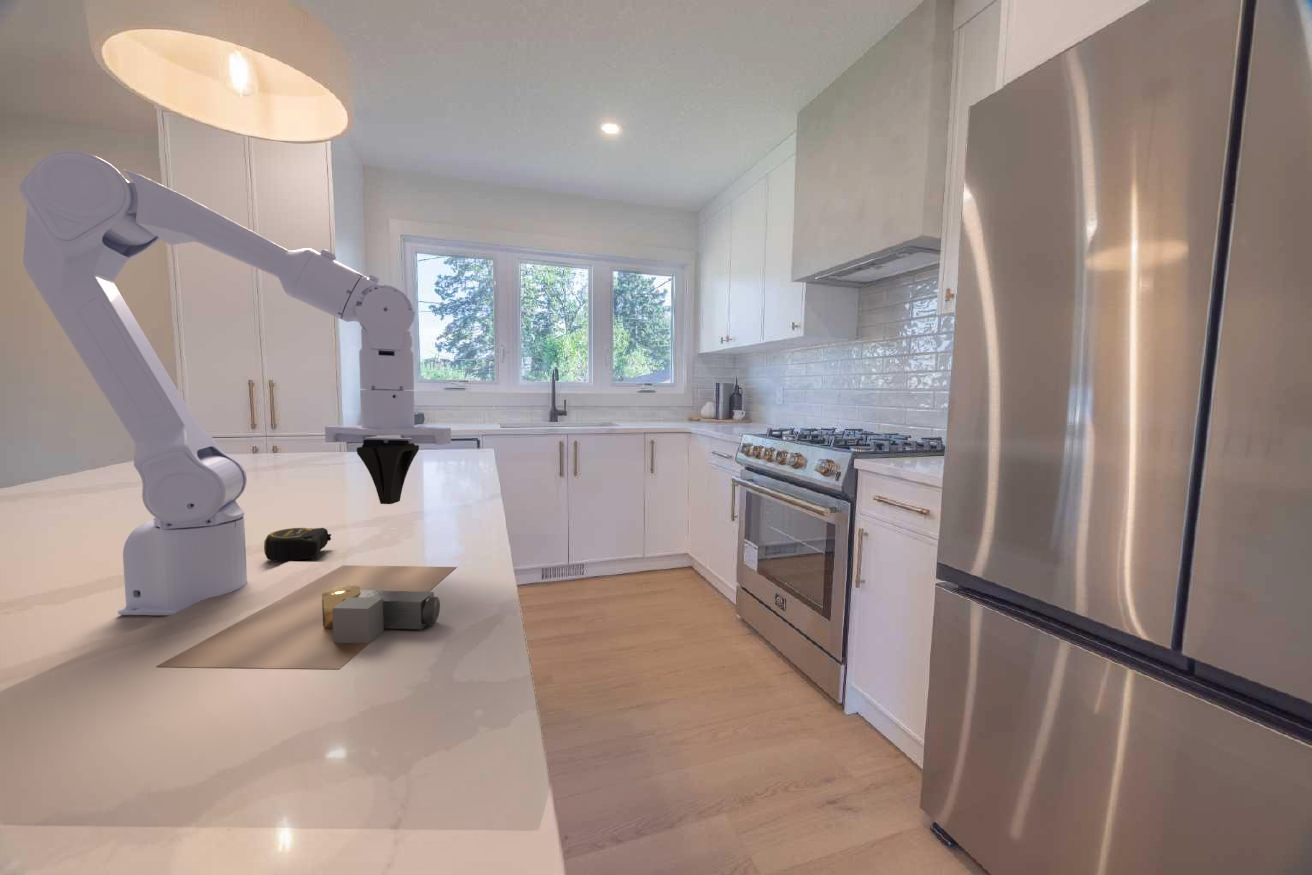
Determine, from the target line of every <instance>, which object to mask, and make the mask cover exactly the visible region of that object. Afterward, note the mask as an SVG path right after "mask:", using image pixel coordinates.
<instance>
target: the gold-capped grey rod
mask: <svg viewBox="0 0 1312 875" xmlns="http://www.w3.org/2000/svg"><path fill="white" fill-rule="evenodd" d="M349 597H365V598H383V624H384V628H386V629H392V630H393V629H395V630H397V629H399V630H423V629H424V628H425V627H426V626H427V625H434V624H435V623H436V622H437V621H438V618H439V614H440V612H441V611H440V609H441V602H440V598H439V597H437V596H435V595H434V591H429V592H413V591H381V590H360V587H359V586H354V585H346V586H339V587H334V588H331V589H328V590H326V591H324V592H323V593H322V611H323V626H325V627H327V628H333V612H332V608H333V607H335V606H337V605H338V604H340V603H341V602H343V601H344V600H346V599H347V598H349Z"/></svg>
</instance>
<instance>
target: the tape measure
mask: <svg viewBox="0 0 1312 875" xmlns="http://www.w3.org/2000/svg"><path fill="white" fill-rule="evenodd" d="M331 536H332V533H329V531H328V529H326V528H324V527H319V528H318V527H317V528H311V527H310V528H308V527H292V528H285V529H284V528H283V529H279V530H276V531H272V532H270V533H269V534H267V536H266V537H265V539H264V541H263V542H264V543H263V544H264V545H263V549H264V551H263V552H264V556H265V557H266V559H267V560H270V561H273V562H283V563H284V562H285V563H286V562H292V561H293V562H294V561H299V560H305V559H306V558H307V559H310V558H314V557H316V556H317V555H318V554H319V552H320V551H321V550H323V549H324V548H325V547H326V546H327V545H328V542H329V541H331V540H332V537H331Z"/></svg>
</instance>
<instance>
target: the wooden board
mask: <svg viewBox="0 0 1312 875" xmlns="http://www.w3.org/2000/svg"><path fill="white" fill-rule="evenodd" d="M457 568H458V566H419V565H418V566H416V565H415V566H413V565H412V566H411V565H407V566H406V565H405V566H404V565H403V566H402V565H347V564H346V565H343V564H342V565H341V566H339V567H337V568H335V569H333V570H331V571H329V572H328V573H326V574H324V575H322V576H320V577H319V578H316V579H315V580H313V581H311V582H309V583H308V584H306V585H304V586H302V587H300V588H298V589H296V590H295V591H293V592H291V593H289V594H287V595H286V596H283V597H282V598H280V599H278V600H276V601H274V602H272V603H270V604H269V605H267V606H265V607H263V608H261V609H260V610H258V611H256V612H254V613H252V614H251V615H248V616H246V617H245V618H242V619H241V620H238V621H237V622H236V623H233V624H232V625H230V626H228V627H226V628H224V629H223V630H221V631H219V632H217V633H215V634H213V635H212V636H210V637H208V638H205V639H204V640H202V641H200V642H198V643H197V644H195V645H193V646H191V647H189V648H188V649H187V648H186V650H184V651H182V652H180V653H178V654H176V655H174V656H172V657H171V658H169V659H167V660H165V661H163V662H162V663H160V664H158V665H156V666H155V668H180V669H181V668H187V669H188V668H191V669H192V668H195V669H198V668H199V669H200V668H201V669H267V670H268V669H269V670H270V669H271V670H273V669H274V670H276V669H278V670H340V669H342V667H344V666H345V665H346V664H347V663H348V662H349V661H350V660H352V659H353V658H355V657H356V656H357V655H358V654H359V653H360V652H361V651H362V650H363V649H365V648H366V647H367V646H368V645H369V644H370V643H334V642H333V628H327V627H325V626H323V611H322V593H323V592H324V591H326V590H328V589H331V588H334V587H339V586H346V585H354V586H359V587H360V590H381V591H413V592H431V591H432V590H433V589H434V588H435V587H436V586H437V585H439V583H441V582H442V581H443V580H445V578H447V577H448V576H449V575H450V574H451V573H452V572H454V571H455V570H456V569H457ZM386 629H387V628H384V631H386ZM384 631H382V632H381V633H380V634H379V635H378V636H380V635H381V634H382V633H383V632H384ZM376 638H377V637H375V638H374V639H373V640H372V641H371V642H373V641H374V640H375V639H376Z"/></svg>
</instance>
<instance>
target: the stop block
mask: <svg viewBox="0 0 1312 875" xmlns="http://www.w3.org/2000/svg"><path fill="white" fill-rule="evenodd" d="M332 612H333V642H334V643H369V644H370V643H371V642H373V641H374V640H375V639H376V638H377V637H379V636H380V635H381V634H382V633H383V632H384V631H385V630H384V624H383V598H365V597H349V598H347V599H346V600H344V601H343V602H341V603H340V604H338V605H337V606H335V607H333V608H332ZM382 631H383V632H382ZM381 632H382V633H381ZM380 633H381V634H380ZM379 634H380V635H379ZM375 637H376V638H375ZM374 638H375V639H374ZM373 639H374V640H373ZM372 640H373V641H372Z"/></svg>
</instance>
